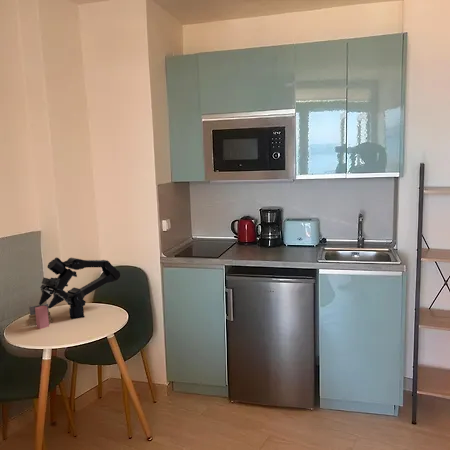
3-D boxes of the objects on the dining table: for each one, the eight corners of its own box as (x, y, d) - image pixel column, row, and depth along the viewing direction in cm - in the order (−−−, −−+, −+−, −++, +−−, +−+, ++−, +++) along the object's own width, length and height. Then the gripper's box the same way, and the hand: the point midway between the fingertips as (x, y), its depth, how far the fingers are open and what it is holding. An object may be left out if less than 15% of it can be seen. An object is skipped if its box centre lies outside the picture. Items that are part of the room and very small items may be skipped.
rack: (50, 315, 245) (49, 303, 244) (51, 322, 234) (50, 309, 233) (29, 319, 241) (27, 306, 240) (29, 326, 230) (27, 312, 229)
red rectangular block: (45, 324, 231) (43, 305, 230) (49, 326, 229) (47, 306, 227) (36, 327, 228) (34, 307, 227) (40, 328, 226) (38, 309, 224)
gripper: (42, 268, 236) (22, 294, 229) (60, 273, 223) (41, 301, 217) (58, 280, 243) (39, 306, 236) (77, 285, 230) (58, 313, 224)
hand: (44, 306), depth 228 cm, fingers open, 9 cm apart
